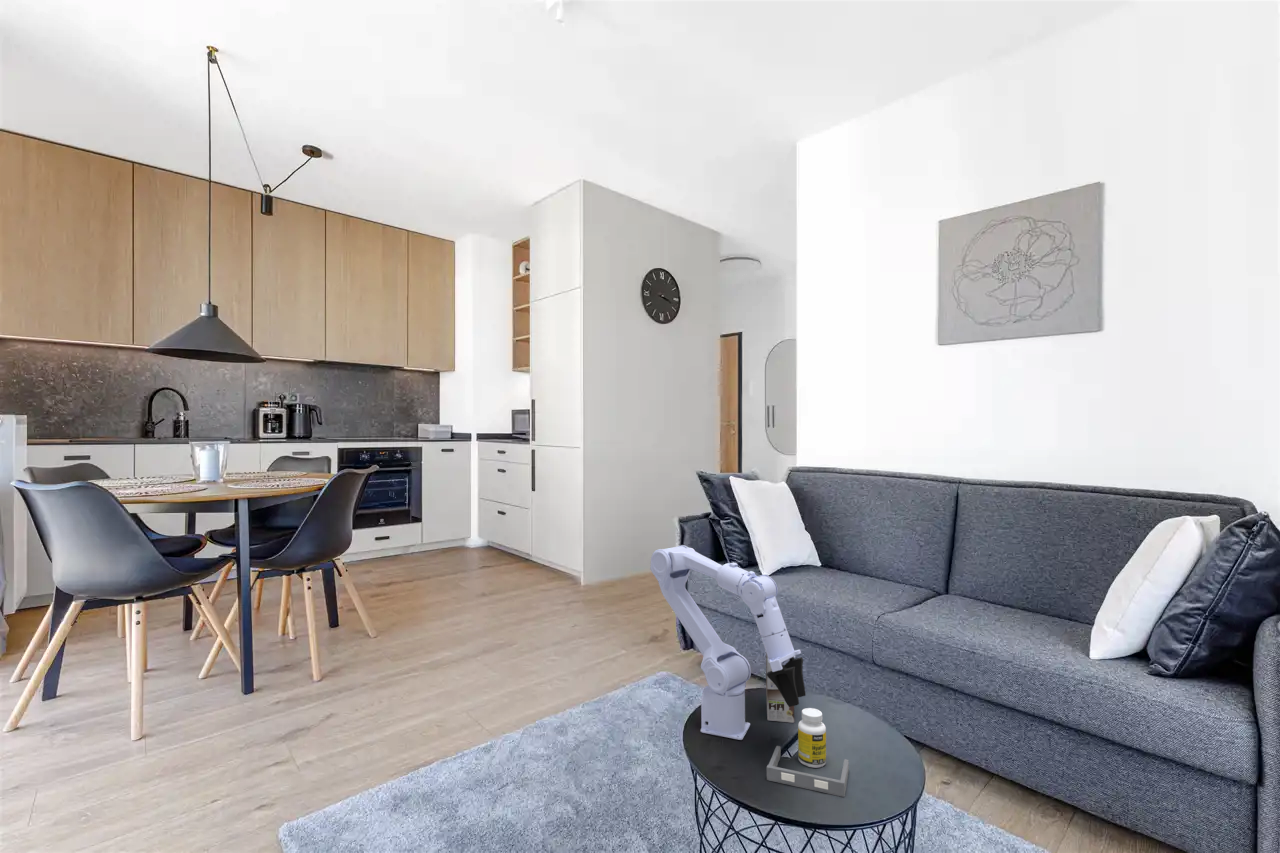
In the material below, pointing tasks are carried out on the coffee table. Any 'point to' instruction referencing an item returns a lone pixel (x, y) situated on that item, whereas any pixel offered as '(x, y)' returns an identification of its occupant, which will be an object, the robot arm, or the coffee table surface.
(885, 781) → the coffee table surface
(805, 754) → the supplement bottle
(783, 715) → the coffee box
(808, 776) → the rail
